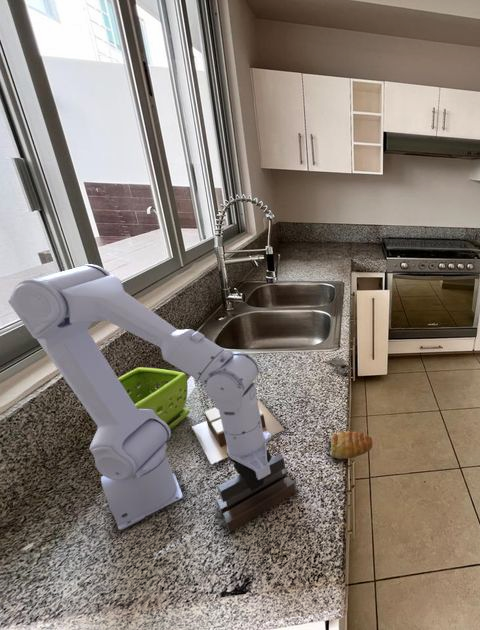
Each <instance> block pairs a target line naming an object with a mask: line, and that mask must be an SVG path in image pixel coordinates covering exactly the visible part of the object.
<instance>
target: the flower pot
mask: <svg viewBox="0 0 480 630" xmlns="http://www.w3.org/2000/svg"><path fill="white" fill-rule="evenodd" d="M117 378H118V379H119V381H120V382H121V384H122V386H123V387H124V389H125V390H126V392H127V394H128V395H129V397H130V398H131V400H132V401H133V403H134V405H135V406H136V408H137V409H151V410H154V412H155V414H156V415H157V416H158V417H159V418H160V419H161V420H163V421H164V422H165V423H166V424H167V425H168V426H169V428H170V431H171V430H172V429H173V428H175V427H176V426H177V425H178V424H179V423H181V422H182V421H183V420H184V419H186V417H188V416H189V413H190V411H191V409H189V408H185V406H186V403H187V400H188V389H189V387H188V376H187V373H185V372H183V371H176V370H170V369H163V368H154V367H140V366H139V367H136V368H134V369H133V370H130V371H128V372H126V373H124V374H123V375H121V376H119V377H117ZM165 382H167V383H165ZM138 384H139V385H138ZM137 385H138V387H137ZM157 385H159V386H160V388H158V387H157ZM128 390H129V392H128ZM151 390H152V391H151Z"/></svg>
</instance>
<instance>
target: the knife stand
mask: <svg viewBox="0 0 480 630" xmlns="http://www.w3.org/2000/svg"><path fill="white" fill-rule="evenodd" d="M282 474H283V479H282V480H281V481H279V482H277V483H275V484H274V485H272V486H270V487H268V488H267V489H265V490H263V491H261V492H260V493H258V494H256V495H254V496H253V497H251V498H249V499H247V500H246V501H244V502H242V503H240V504H239V505H237V506H235V507H233V508H232V509H230V510H228V508H227V504H226V501H225V502H223V501H222V499H221V498H219V499H217V500H216V505H217V508H218V511H219V513H220V516H221V518H222V519H223V520H224V524H225V526H226V528H227V530H228V533H229V534H232V533H233V532H234V531H236V530H237V529H239V528H242V526H244V525H245V524H247V523H250V522H251V521H252V520H254V519H255V518H257V517H259V516H260V515H262V514H263V513H265V512H267V511H268V510H270V509H273V507H275V506H276V505H278V504H280V503H281V502H283V501H285V500H286V499H288V498H290V497H292V496H293V495H295V494H297V491H296V484H295V482H294V480H293V479H292V478H291V476H290V475H288V473H287V471H286V470H285V468H284V469H283V470H282Z"/></svg>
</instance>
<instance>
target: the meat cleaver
mask: <svg viewBox="0 0 480 630" xmlns="http://www.w3.org/2000/svg"><path fill="white" fill-rule="evenodd" d="M328 363H330V364H333V365H334V366H335V367H336V368H337V371H338V373H340V375H342V376H346V375H347V374H348V373H347V372H346V371H345V370H344V369H343V367H345V366H347V364H346V363H345V362H344V361H342V360H341V359H339V358H338V357H337V358H333V359H330V360H329V361H328Z"/></svg>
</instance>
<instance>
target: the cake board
mask: <svg viewBox="0 0 480 630" xmlns="http://www.w3.org/2000/svg"><path fill="white" fill-rule="evenodd" d="M257 401H258V406H259V409H260V410H261V411H262V412H263V414H264V420H265V425H266V427H264V428H263V432H265V431H268V432H269V433H270V434H271V437H274V436H275V435H277V434H278V433H281V432H284V431H286V428H285V427H284V426H283V425H282V424H281V423H280V422H279V421H278V419H277V418H276V417H275V416H274V415H273V414H272V413H271V412H270V410H269V409H268V408H267V407H266V406H265V404H263V402H262V401H261V400H260V399H257ZM191 429H192V431H193V433H194V435H195V437H196V438H197V441H198V442H199V445H200V447H201V449H202V450H203V453H204V454H205V456H206V458H207V460H208V462H209V464H210V465H211V466H212V465H214V464H216V463H218V462H221V461H222V460H226V458H229V457H228V456H227V445H224V446H222V447H220V445H219V443H218V442H217V440H216V438H215V437H214V435H213V433H212V432H211V430H210V428H209V426H208V424H207V420H205V421H202V422H200V423H197V424H194V425H191Z"/></svg>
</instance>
